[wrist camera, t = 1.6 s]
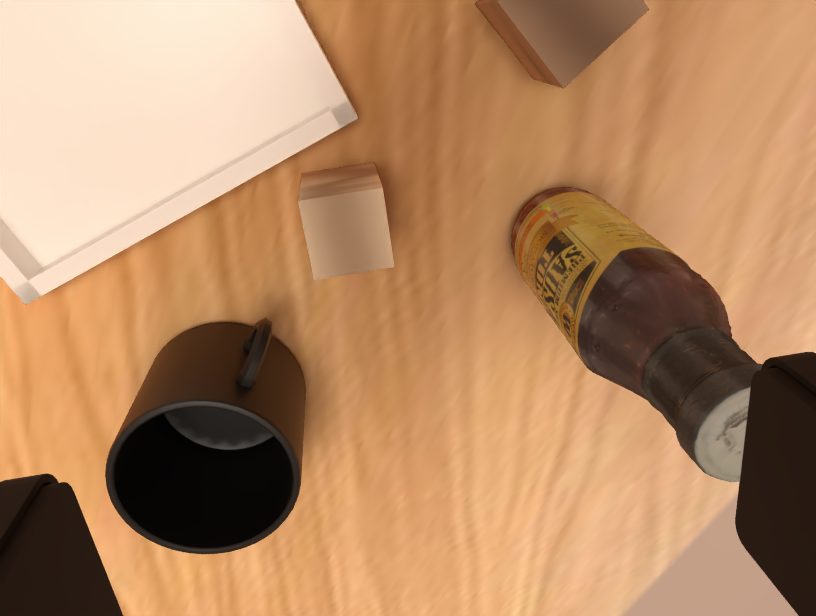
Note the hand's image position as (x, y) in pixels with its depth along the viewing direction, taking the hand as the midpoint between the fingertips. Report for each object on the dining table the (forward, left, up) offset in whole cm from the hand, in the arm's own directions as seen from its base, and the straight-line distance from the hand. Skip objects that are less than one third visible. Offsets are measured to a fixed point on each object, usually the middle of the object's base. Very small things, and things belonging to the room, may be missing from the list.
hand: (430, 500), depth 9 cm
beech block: (+2, +3, -29) cm, 30 cm away
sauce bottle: (-8, +11, -30) cm, 32 cm away
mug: (+13, +9, -30) cm, 33 cm away
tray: (+9, -9, -29) cm, 32 cm away
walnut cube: (-12, -1, -29) cm, 32 cm away
